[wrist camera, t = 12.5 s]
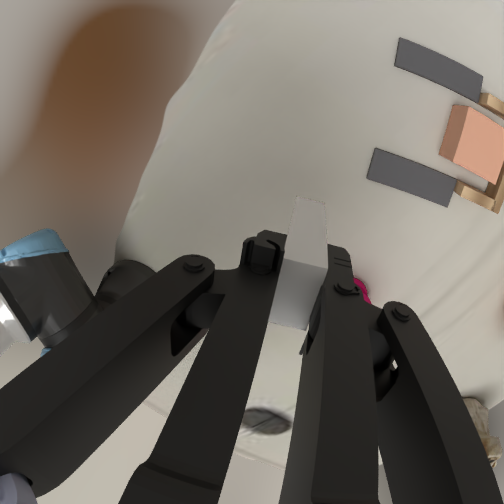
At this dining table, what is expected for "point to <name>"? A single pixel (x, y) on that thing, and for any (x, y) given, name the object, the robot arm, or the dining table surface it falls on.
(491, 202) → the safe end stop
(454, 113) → the terracotta block
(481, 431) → the ceramic vessel
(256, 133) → the dining table surface
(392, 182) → the mats
